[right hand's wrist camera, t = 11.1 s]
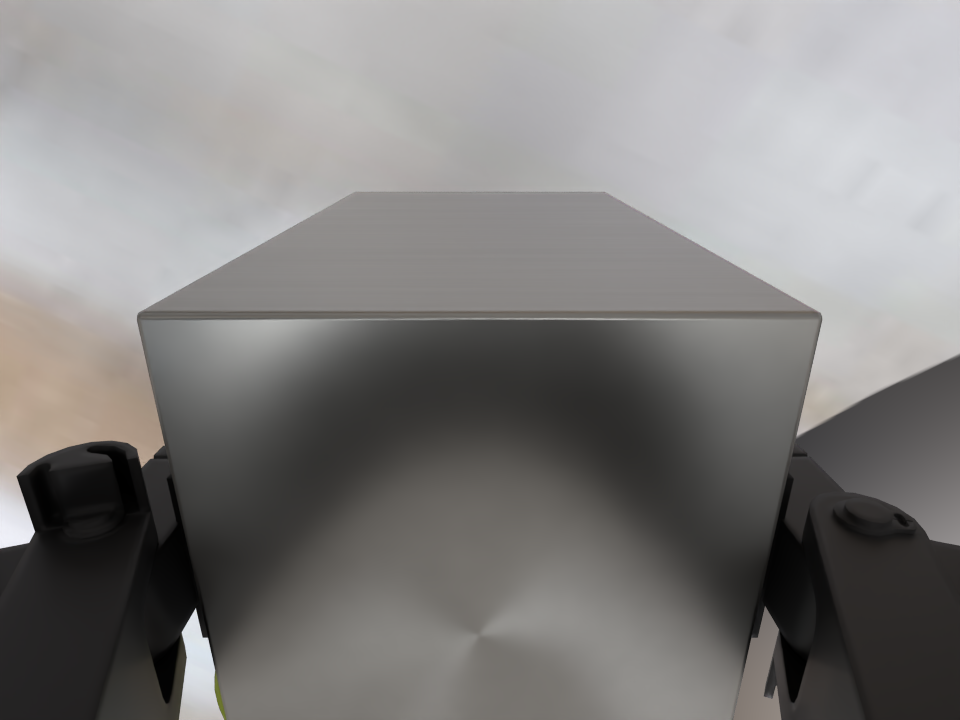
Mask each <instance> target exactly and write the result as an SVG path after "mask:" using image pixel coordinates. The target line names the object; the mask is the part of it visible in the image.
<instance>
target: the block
mask: <svg viewBox="0 0 960 720" xmlns="http://www.w3.org/2000/svg"><path fill="white" fill-rule="evenodd" d="M137 322H138V327H139V331H140V336H141V340H142V345H143V349H144V354H145V358H146V362H147V367H148V371H149V376H150V380H151V385H152V389H153V394H154V398H155V403H156V407H157V412H158V416H159V421H160V425H161V429H162V434H163V438H164V443H165V447H166V452H167V456H168V461H169V465H170V470H171V474H172V479H173V483H174V488H175V492H176V497H177V501H178V505H179V510H180V514H181V519H182V523H183V528H184V532H185V537H186V541H187V546H188V550H189V555H190V559H191V564H192V568H193V572H194V577H195V581H196V586H197V590H198V595H199V599H200V604H201V608H202V613H203V617H204V622H205V626H206V631H207V635H208V640H209V644H210V648H211V653H212V657H213V662H214V666H215V671H216V675H217V680H218V684H219V689H220V693H221V698H222V702H223V707H224V711H225V715H226V720H733V717H734V713H735V708H736V704H737V699H738V694H739V690H740V686H741V681H742V677H743V672H744V668H745V663H746V659H747V654H748V650H749V645H750V641H751V636H752V632H753V627H754V623H755V619H756V614H757V610H758V605H759V601H760V596H761V592H762V587H763V583H764V578H765V574H766V569H767V565H768V560H769V556H770V551H771V547H772V542H773V538H774V533H775V529H776V524H777V520H778V516H779V511H780V507H781V502H782V498H783V493H784V489H785V484H786V480H787V475H788V471H789V466H790V462H791V457H792V453H793V448H794V444H795V439H796V435H797V430H798V426H799V421H800V417H801V412H802V408H803V404H804V399H805V395H806V390H807V386H808V381H809V377H810V372H811V368H812V363H813V359H814V354H815V350H816V345H817V341H818V336H819V332H820V327H821V323H822V315H821V313H820V312H818V311H816V310H815V309H813V308H811V307H809V306H807V305H806V304H804V303H802V302H800V301H798V300H797V299H795V298H793V297H791V296H790V295H788V294H786V293H784V292H782V291H781V290H779V289H777V288H775V287H773V286H772V285H770V284H768V283H766V282H765V281H763V280H761V279H759V278H757V277H756V276H754V275H752V274H750V273H748V272H747V271H745V270H743V269H741V268H740V267H738V266H736V265H734V264H732V263H731V262H729V261H727V260H725V259H724V258H722V257H720V256H718V255H716V254H715V253H713V252H711V251H709V250H707V249H706V248H704V247H702V246H700V245H699V244H697V243H695V242H693V241H691V240H690V239H688V238H686V237H684V236H682V235H681V234H679V233H677V232H675V231H674V230H672V229H670V228H668V227H666V226H665V225H663V224H661V223H659V222H657V221H656V220H654V219H652V218H650V217H649V216H647V215H645V214H643V213H641V212H640V211H638V210H636V209H634V208H632V207H631V206H629V205H627V204H625V203H624V202H622V201H620V200H618V199H616V198H615V197H613V196H611V195H609V194H608V193H606V192H354V193H352V194H350V195H349V196H347V197H345V198H343V199H341V200H340V201H338V202H336V203H334V204H333V205H331V206H329V207H327V208H325V209H324V210H322V211H320V212H318V213H316V214H315V215H313V216H311V217H309V218H307V219H306V220H304V221H302V222H300V223H299V224H297V225H295V226H293V227H291V228H290V229H288V230H286V231H284V232H282V233H281V234H279V235H277V236H275V237H273V238H272V239H270V240H268V241H266V242H265V243H263V244H261V245H259V246H257V247H256V248H254V249H252V250H250V251H248V252H247V253H245V254H243V255H241V256H239V257H238V258H236V259H234V260H232V261H231V262H229V263H227V264H225V265H223V266H222V267H220V268H218V269H216V270H214V271H213V272H211V273H209V274H207V275H205V276H204V277H202V278H200V279H198V280H196V281H195V282H193V283H191V284H189V285H188V286H186V287H184V288H182V289H180V290H179V291H177V292H175V293H173V294H171V295H170V296H168V297H166V298H164V299H162V300H161V301H159V302H157V303H155V304H154V305H152V306H150V307H148V308H146V309H145V310H143V311H141V312H139V313H138V315H137Z"/></svg>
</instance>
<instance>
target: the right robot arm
mask: <svg viewBox="0 0 960 720" xmlns="http://www.w3.org/2000/svg"><path fill="white" fill-rule="evenodd" d="M17 479H18V482H19V485H20V488H21V491H22V494H23V497H24V500H25V503H26V506H27V509H28V512H29V515H30V518H31V521H32V524H33V527H34V530H35V533H34V535H33V537H32V539H31V541H30V543H27V544H22V545H17V546H12V547H6V548H1V549H0V720H179V713H180V706H181V698H182V690H183V682H184V674H185V666H186V658H187V657H186V650H185V645H184V641H183V636H182V631H183V629H184V627H185V625H186V624H187V622H188V620H189V619H190V617H191V615H192V613H193V612H194V610H195V608H196V610H197V614H198V619H199V623H200V628H201V632H202V636H203V638H208V635H207V631H206V626H205V622H204V617H203V613H202V608H201V604H200V599H199V595H198V590H197V586H196V581H195V577H194V572H193V568H192V564H191V559H190V555H189V550H188V546H187V541H186V537H185V532H184V528H183V523H182V519H181V514H180V510H179V505H178V501H177V497H176V492H175V488H174V483H173V479H172V474H171V470H170V465H169V461H168V456H167V452H166V447H165V446H163V447H162V448H161V449H160V450H159V451H158V452H157V453H156V454H155V455H154V459H150V460H149V461H148V462H147V463H146V464H145V465H144V466H143V467H142V468H141V465H140V461H139V457H138V452H137V449H136V448H134V447H133V446H131V445H130V444H128V443H123V442H117V441H100V442H89V443H85V444H80V445H76V446H71V447H67V448H65V449H62V450H59V451H56V452H54V453H51V454H48V455H46V456H44V457H42V458H40V459H39V460H37V461H35V462H33V463H31V464H30V465H28V466H27V467H26V468H25V469H24V470H23V471H22V472H21V473H20V474H19V475H18V476H17ZM765 606H766V608H767V610H768V611H769V613H770V615H771V616H772V618H773V620H774V621H775V623H776V625H777V627H778V628H779V632H778V636H777V641H776V645H775V649H774V653H773V657H772V661H771V665H770V670H769V673H768V677H767V681H766V686H765V693H764V696H765V697H768V698H773V694H774V690H775V686H777V688H778V696H779V704H780V712H781V719H782V720H960V546H958V545H952V544H947V543H942V542H937V541H932V540H929V538H928V536H927V534H926V532H925V531H924V530H923V528H922V527H921V526H920V525H919V524H918V523H917V521H916V520H915V519H914V518H912V517H911V516H909V515H908V514H906V513H905V512H903V511H902V510H900V509H899V508H897V507H895V506H893V505H890V504H888V503H886V502H883V501H881V500H879V499H876V498H872V497H868V496H864V495H860V494H857V493H848V492H845V491H844V490H843V489H842V488H841V487H840V486H839V485H838V484H837V483H836V482H835V481H834V480H833V479H832V478H831V477H830V476H829V475H828V474H827V473H826V472H825V471H824V470H823V469H822V468H821V467H820V466H819V465H818V464H817V463H816V462H815V461H814V460H813V459H812V458H811V457H807V453H806V452H805V451H804V450H803V449H802V448H801V447H800V446H799V445H798V444H794V448H793V453H792V457H791V462H790V466H789V471H788V475H787V480H786V484H785V489H784V493H783V498H782V502H781V507H780V511H779V516H778V520H777V524H776V529H775V533H774V538H773V542H772V547H771V551H770V556H769V560H768V565H767V569H766V574H765V578H764V583H763V587H762V592H761V596H760V601H759V605H758V610H757V614H756V619H755V623H754V627H753V632H752V636H751V638H757V637H758V634H759V629H760V625H761V621H762V616H763V612H764V608H765Z"/></svg>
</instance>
